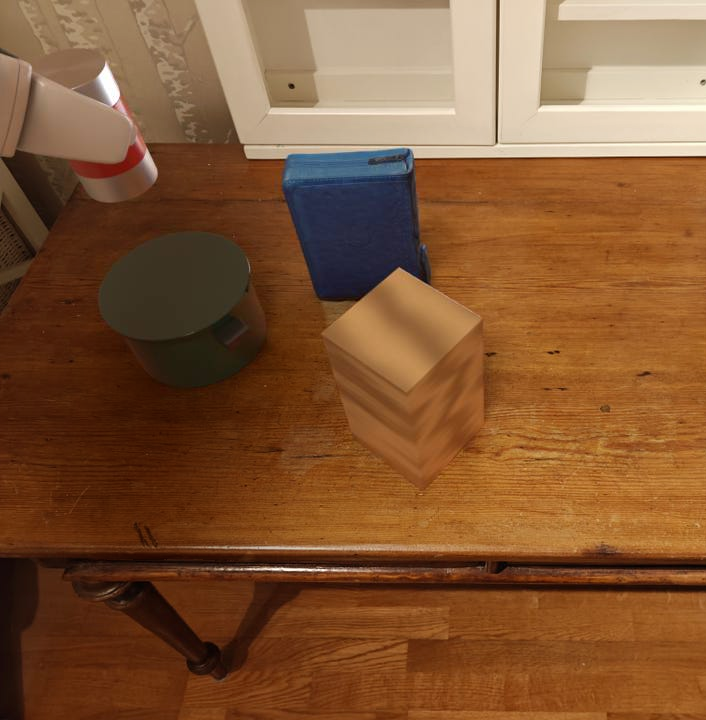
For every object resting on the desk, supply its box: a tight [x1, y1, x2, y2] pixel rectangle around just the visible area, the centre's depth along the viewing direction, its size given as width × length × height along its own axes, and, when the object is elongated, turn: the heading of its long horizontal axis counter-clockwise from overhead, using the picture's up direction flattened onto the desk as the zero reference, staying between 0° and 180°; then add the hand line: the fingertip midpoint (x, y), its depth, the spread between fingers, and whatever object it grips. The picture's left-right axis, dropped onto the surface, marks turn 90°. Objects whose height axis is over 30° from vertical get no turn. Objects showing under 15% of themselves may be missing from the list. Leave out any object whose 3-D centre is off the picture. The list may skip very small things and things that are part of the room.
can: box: [29, 47, 159, 204], centre depth 60 cm, size 6×6×11 cm
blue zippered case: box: [281, 147, 432, 301], centre depth 79 cm, size 14×5×20 cm, turn 94°
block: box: [320, 268, 485, 492], centre depth 68 cm, size 10×10×18 cm
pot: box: [97, 230, 268, 389], centre depth 79 cm, size 16×20×9 cm
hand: (98, 120), depth 60 cm, fingers closed on can, 6 cm apart
